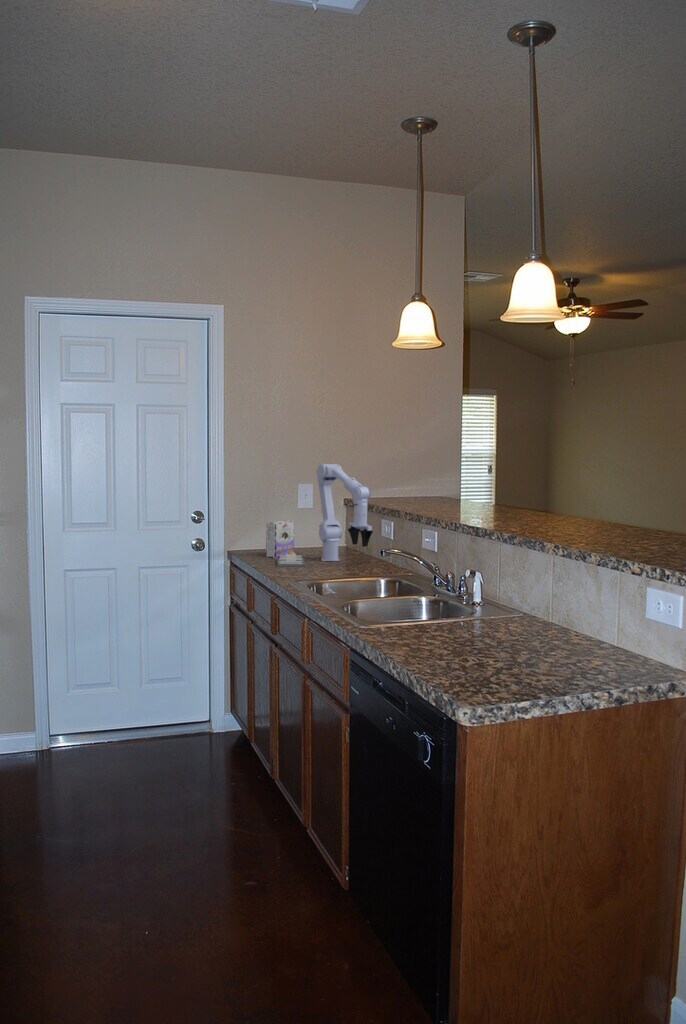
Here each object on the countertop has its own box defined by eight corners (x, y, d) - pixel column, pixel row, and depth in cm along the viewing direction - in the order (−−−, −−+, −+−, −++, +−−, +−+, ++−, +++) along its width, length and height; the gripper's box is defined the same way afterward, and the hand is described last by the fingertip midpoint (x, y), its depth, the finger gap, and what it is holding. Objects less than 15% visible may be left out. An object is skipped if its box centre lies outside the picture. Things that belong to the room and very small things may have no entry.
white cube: (285, 561, 351) (285, 551, 350) (295, 561, 351) (296, 551, 350) (285, 562, 346) (285, 552, 346) (295, 562, 346) (296, 552, 346)
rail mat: (277, 559, 362) (277, 555, 362) (303, 560, 363) (304, 555, 363) (276, 566, 344) (277, 561, 344) (304, 566, 345) (304, 561, 345)
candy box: (284, 554, 381) (285, 519, 380) (294, 555, 378) (294, 520, 376) (265, 557, 370) (266, 521, 369) (275, 558, 367) (275, 522, 365)
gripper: (343, 513, 349) (343, 543, 351) (362, 516, 337) (361, 547, 339) (356, 512, 353) (356, 542, 355) (376, 515, 341) (375, 547, 343)
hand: (359, 545), depth 347 cm, fingers open, 7 cm apart
